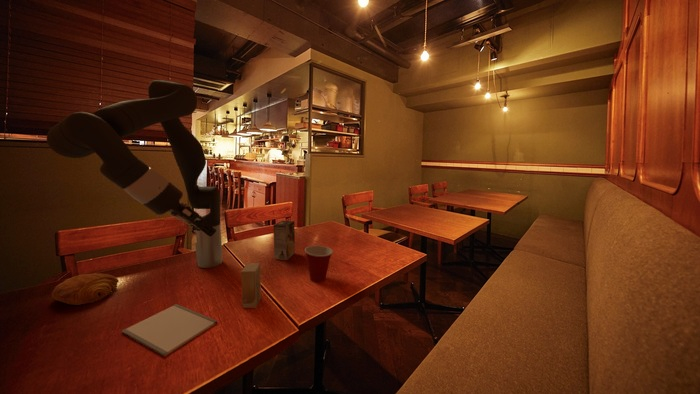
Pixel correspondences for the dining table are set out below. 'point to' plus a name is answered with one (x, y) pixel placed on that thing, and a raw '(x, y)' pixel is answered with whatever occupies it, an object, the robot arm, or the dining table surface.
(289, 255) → the coffee box
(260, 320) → the dining table surface
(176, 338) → the mat
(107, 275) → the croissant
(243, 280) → the skincare box
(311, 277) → the plastic cup
